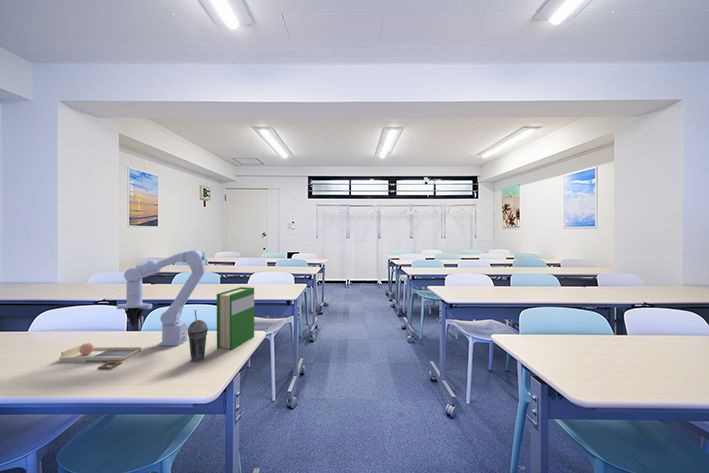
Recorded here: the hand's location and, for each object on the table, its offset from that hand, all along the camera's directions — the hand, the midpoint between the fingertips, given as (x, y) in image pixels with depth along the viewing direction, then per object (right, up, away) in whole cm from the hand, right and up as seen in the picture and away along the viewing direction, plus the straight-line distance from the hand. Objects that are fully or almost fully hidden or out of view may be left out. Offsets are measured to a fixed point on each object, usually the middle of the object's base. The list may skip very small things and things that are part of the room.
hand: (134, 324), depth 134 cm
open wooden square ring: (+6, -10, -21) cm, 24 cm away
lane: (-5, -9, -12) cm, 16 cm away
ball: (-12, -7, -11) cm, 17 cm away
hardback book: (+44, -10, +4) cm, 45 cm away
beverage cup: (+36, -10, -15) cm, 40 cm away
